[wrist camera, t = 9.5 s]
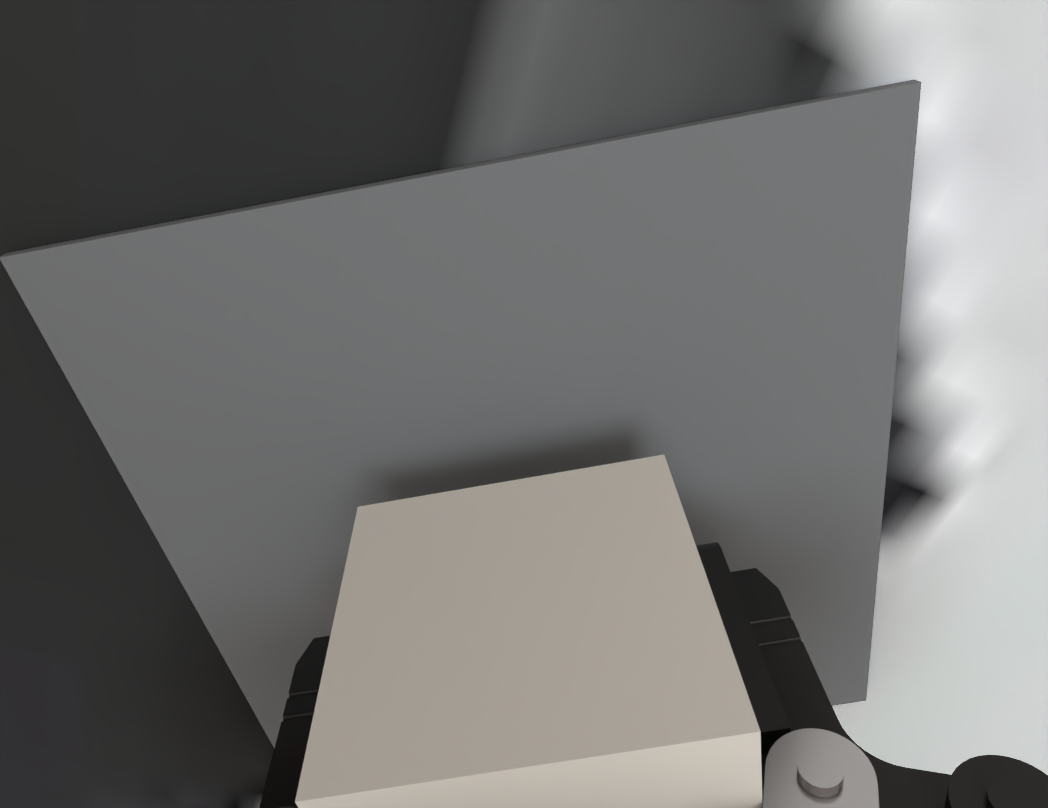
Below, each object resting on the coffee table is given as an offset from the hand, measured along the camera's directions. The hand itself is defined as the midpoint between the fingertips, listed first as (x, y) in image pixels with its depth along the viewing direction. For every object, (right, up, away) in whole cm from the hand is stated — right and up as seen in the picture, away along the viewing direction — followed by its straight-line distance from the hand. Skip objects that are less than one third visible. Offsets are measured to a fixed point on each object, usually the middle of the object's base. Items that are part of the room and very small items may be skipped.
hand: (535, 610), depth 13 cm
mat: (0, +1, +2) cm, 2 cm away
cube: (0, 0, 0) cm, 0 cm away
